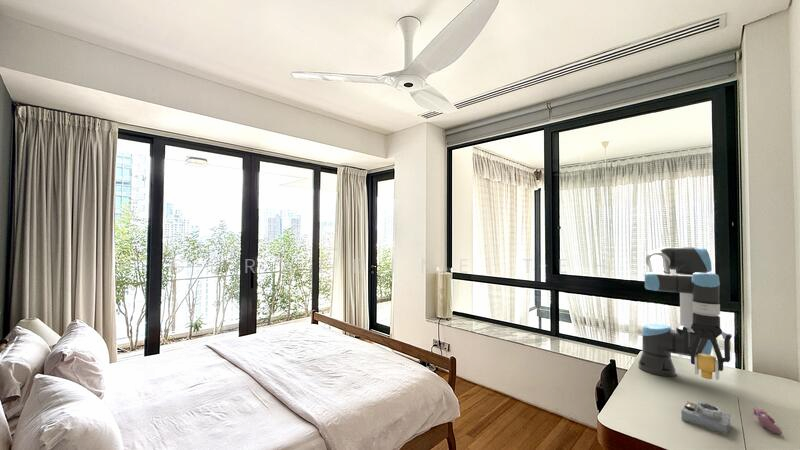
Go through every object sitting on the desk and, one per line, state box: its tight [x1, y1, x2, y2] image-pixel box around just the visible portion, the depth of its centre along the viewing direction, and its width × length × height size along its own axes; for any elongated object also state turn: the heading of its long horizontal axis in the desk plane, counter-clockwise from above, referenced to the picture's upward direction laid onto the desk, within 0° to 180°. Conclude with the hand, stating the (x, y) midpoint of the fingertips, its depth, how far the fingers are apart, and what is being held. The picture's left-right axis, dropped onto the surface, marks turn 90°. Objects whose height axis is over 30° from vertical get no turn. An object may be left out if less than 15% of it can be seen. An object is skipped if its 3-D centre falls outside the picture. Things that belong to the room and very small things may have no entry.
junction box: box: [681, 401, 731, 436], centre depth 119 cm, size 12×11×6 cm
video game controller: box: [752, 407, 783, 435], centre depth 117 cm, size 10×5×7 cm, turn 141°
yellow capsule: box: [697, 354, 717, 380], centre depth 120 cm, size 5×5×8 cm
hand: (706, 376), depth 119 cm, fingers closed on yellow capsule, 5 cm apart
